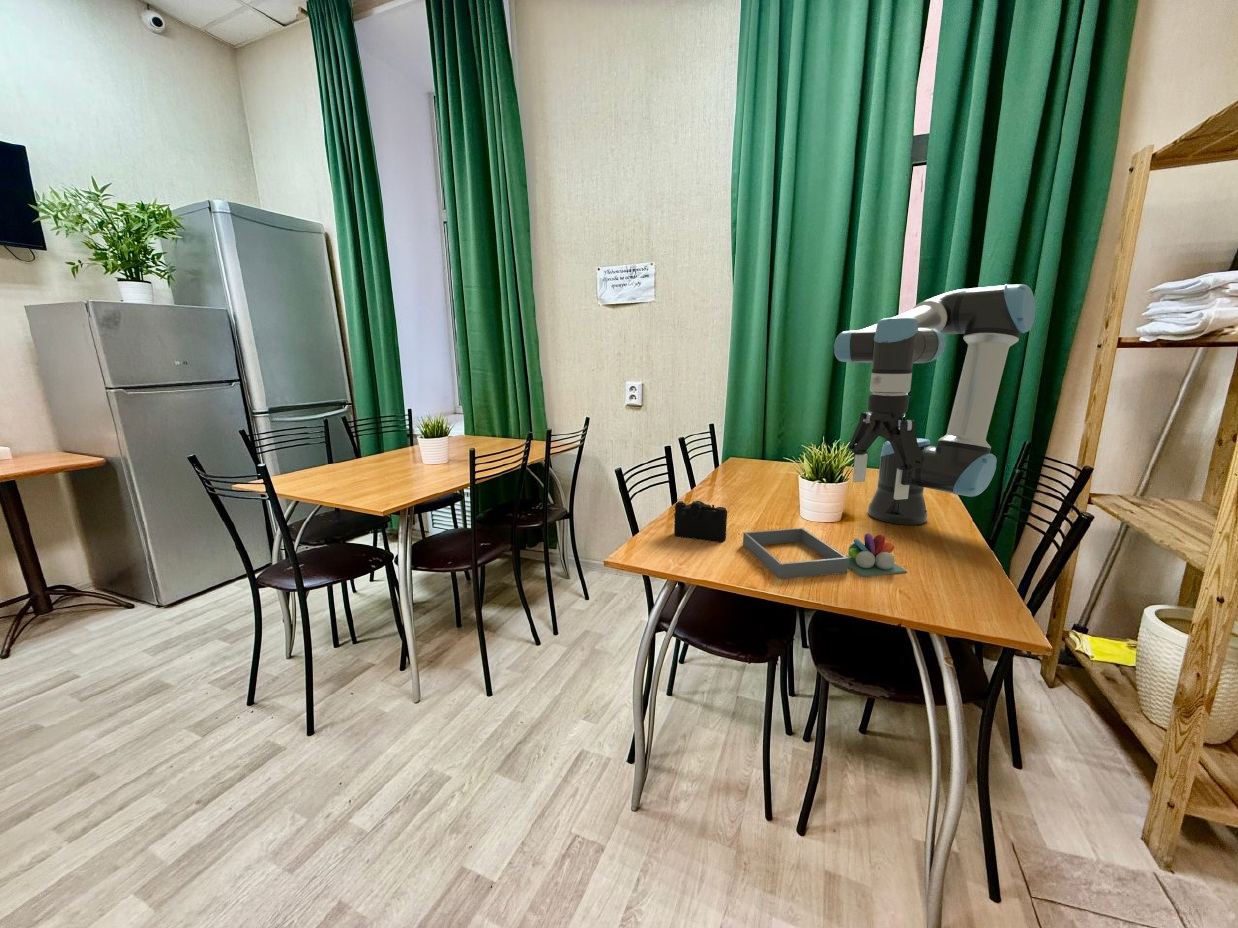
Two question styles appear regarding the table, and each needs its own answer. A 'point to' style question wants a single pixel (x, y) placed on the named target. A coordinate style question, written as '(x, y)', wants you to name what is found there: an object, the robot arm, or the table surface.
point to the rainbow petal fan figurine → (872, 552)
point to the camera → (700, 521)
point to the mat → (873, 569)
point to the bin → (829, 565)
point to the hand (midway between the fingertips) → (878, 489)
